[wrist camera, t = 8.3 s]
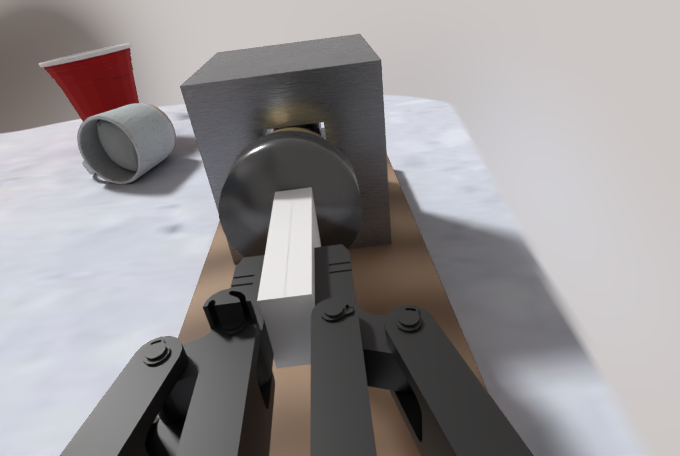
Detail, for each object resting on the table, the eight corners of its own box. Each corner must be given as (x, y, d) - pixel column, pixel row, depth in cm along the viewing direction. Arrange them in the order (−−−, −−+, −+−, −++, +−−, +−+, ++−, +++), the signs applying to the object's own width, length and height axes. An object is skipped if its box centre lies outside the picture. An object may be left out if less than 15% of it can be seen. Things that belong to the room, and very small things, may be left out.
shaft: (367, 263, 19) (355, 138, 16) (237, 280, 19) (200, 158, 16) (341, 133, 35) (332, 56, 31) (269, 143, 35) (253, 66, 31)
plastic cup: (123, 127, 65) (90, 43, 58) (177, 128, 60) (148, 38, 54) (61, 154, 56) (14, 60, 50) (118, 158, 52) (76, 56, 46)
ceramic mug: (188, 155, 51) (167, 92, 47) (151, 184, 44) (123, 115, 40) (117, 158, 53) (91, 99, 49) (71, 186, 47) (38, 121, 43)
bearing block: (391, 244, 26) (381, 59, 21) (234, 264, 27) (180, 86, 21) (371, 177, 35) (360, 33, 29) (252, 192, 35) (217, 52, 29)
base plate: (535, 554, 14) (544, 526, 13) (116, 607, 14) (91, 582, 13) (385, 167, 41) (384, 148, 40) (243, 186, 41) (238, 167, 40)
